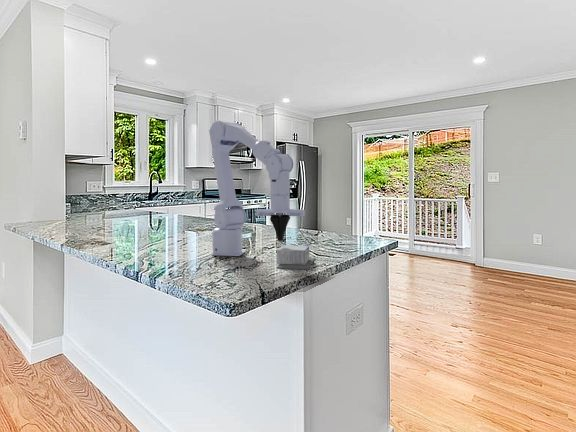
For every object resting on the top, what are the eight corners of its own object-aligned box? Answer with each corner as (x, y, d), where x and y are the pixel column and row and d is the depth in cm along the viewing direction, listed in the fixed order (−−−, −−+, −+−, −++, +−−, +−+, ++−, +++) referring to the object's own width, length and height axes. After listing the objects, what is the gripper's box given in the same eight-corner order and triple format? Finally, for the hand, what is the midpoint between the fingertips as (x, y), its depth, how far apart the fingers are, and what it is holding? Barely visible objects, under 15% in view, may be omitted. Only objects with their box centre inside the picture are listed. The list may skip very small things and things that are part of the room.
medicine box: (276, 264, 108) (305, 265, 106) (276, 249, 107) (305, 250, 106) (282, 258, 115) (309, 259, 114) (282, 244, 115) (309, 245, 113)
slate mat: (276, 268, 105) (276, 266, 105) (287, 257, 118) (287, 256, 118) (308, 269, 103) (308, 268, 103) (314, 258, 116) (314, 257, 116)
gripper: (252, 195, 107) (253, 241, 108) (301, 195, 104) (302, 243, 105) (259, 194, 114) (260, 237, 115) (305, 194, 111) (306, 239, 112)
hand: (280, 240), depth 111 cm, fingers closed
